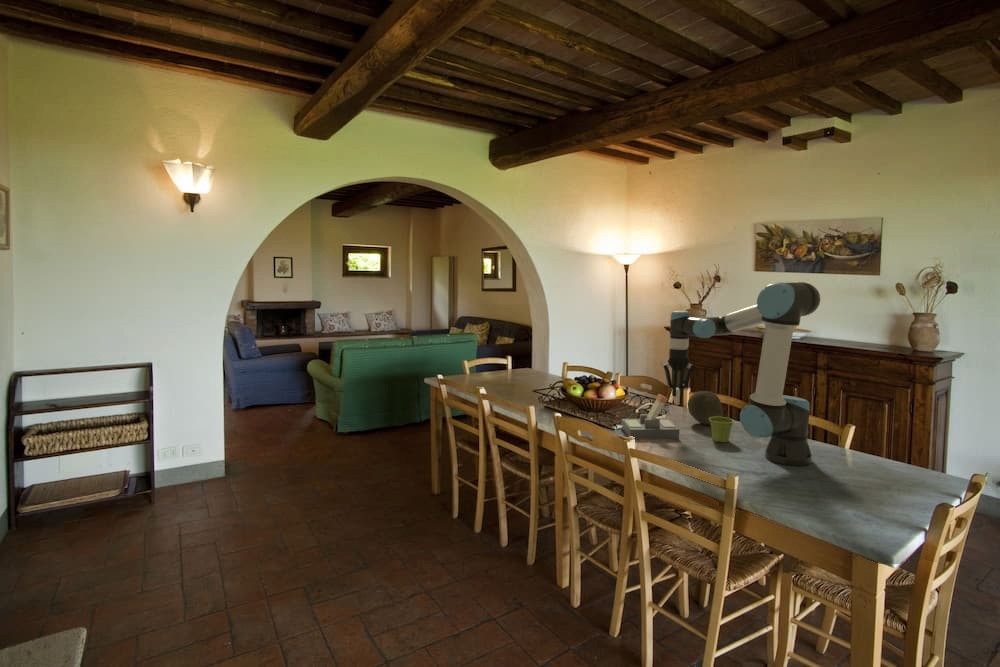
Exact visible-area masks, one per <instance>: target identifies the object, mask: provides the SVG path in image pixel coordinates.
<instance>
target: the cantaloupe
mask: <svg viewBox="0 0 1000 667" xmlns="http://www.w3.org/2000/svg"><path fill="white" fill-rule="evenodd" d="M687 409H688V412H689V414H690V416H691V417H692V418H693V419H694V420H695V421H697V422H698V423H700V424H703V425H704V426H705V425H707V426H711V424H710V421H709V418H710V417H722V415H723V404H722V402H721V399H720V397H719V396H718V395H717V394H715V393H714V392H713V391H708V390H706V391H705V390H700V391H697V392H694V393H693V394H691V396H690V397H689V399H688V401H687Z"/></svg>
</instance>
